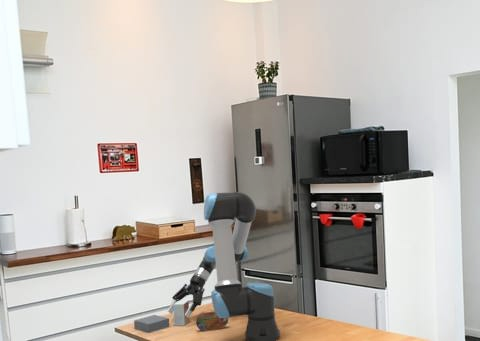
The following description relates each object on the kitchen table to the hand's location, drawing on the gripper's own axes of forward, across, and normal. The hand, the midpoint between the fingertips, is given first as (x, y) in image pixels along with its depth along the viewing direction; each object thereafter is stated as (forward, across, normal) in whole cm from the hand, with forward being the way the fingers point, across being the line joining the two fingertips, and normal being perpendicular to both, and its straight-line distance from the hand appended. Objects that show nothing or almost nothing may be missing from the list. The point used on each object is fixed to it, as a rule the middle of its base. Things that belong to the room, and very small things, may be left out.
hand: (178, 314), depth 236 cm
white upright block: (+2, 0, -5) cm, 6 cm away
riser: (+11, +7, +4) cm, 14 cm away
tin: (+1, -20, -7) cm, 21 cm away
